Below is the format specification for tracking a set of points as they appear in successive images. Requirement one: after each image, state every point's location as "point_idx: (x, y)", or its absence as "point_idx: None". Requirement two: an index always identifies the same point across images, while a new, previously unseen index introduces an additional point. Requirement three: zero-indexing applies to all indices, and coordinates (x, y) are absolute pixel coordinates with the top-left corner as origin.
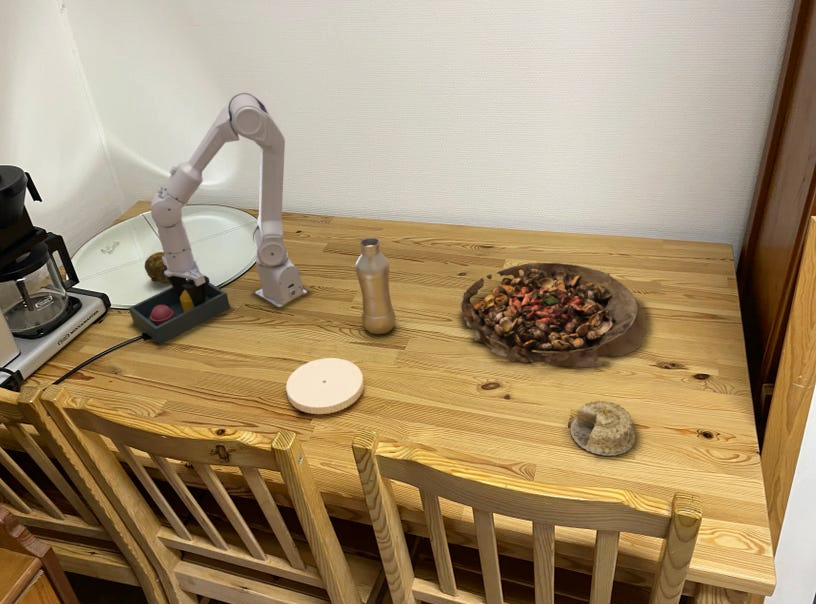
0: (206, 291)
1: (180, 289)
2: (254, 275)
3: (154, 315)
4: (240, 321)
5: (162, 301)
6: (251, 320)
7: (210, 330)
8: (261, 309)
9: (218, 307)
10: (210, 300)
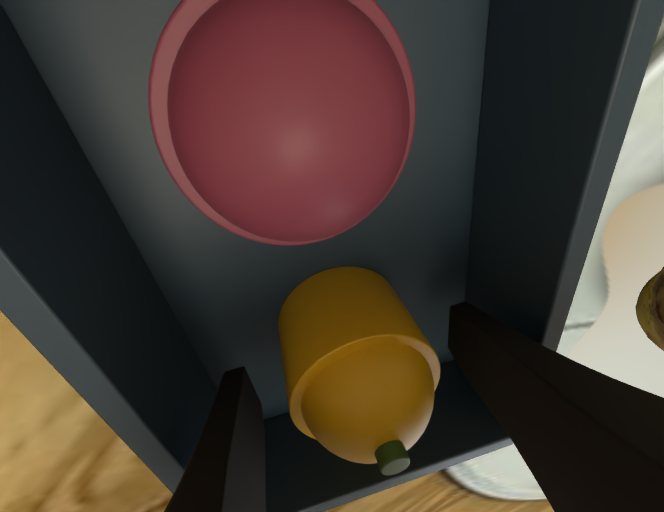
0: None
1: (485, 361)
2: (402, 484)
3: (226, 13)
4: (102, 451)
5: (518, 199)
6: (87, 482)
7: None
8: (163, 504)
9: None
10: None
